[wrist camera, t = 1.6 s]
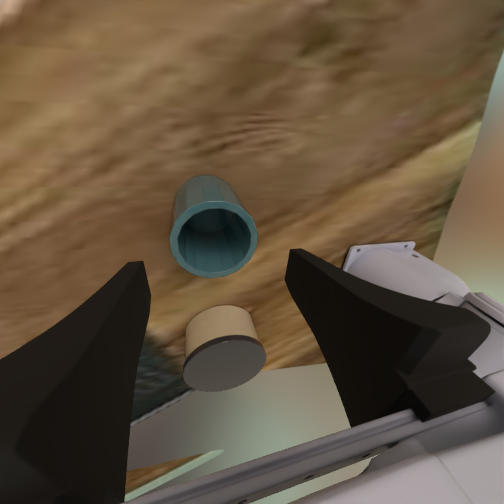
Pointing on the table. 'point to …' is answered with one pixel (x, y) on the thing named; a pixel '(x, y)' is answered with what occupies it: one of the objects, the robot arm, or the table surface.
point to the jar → (221, 349)
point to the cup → (211, 228)
